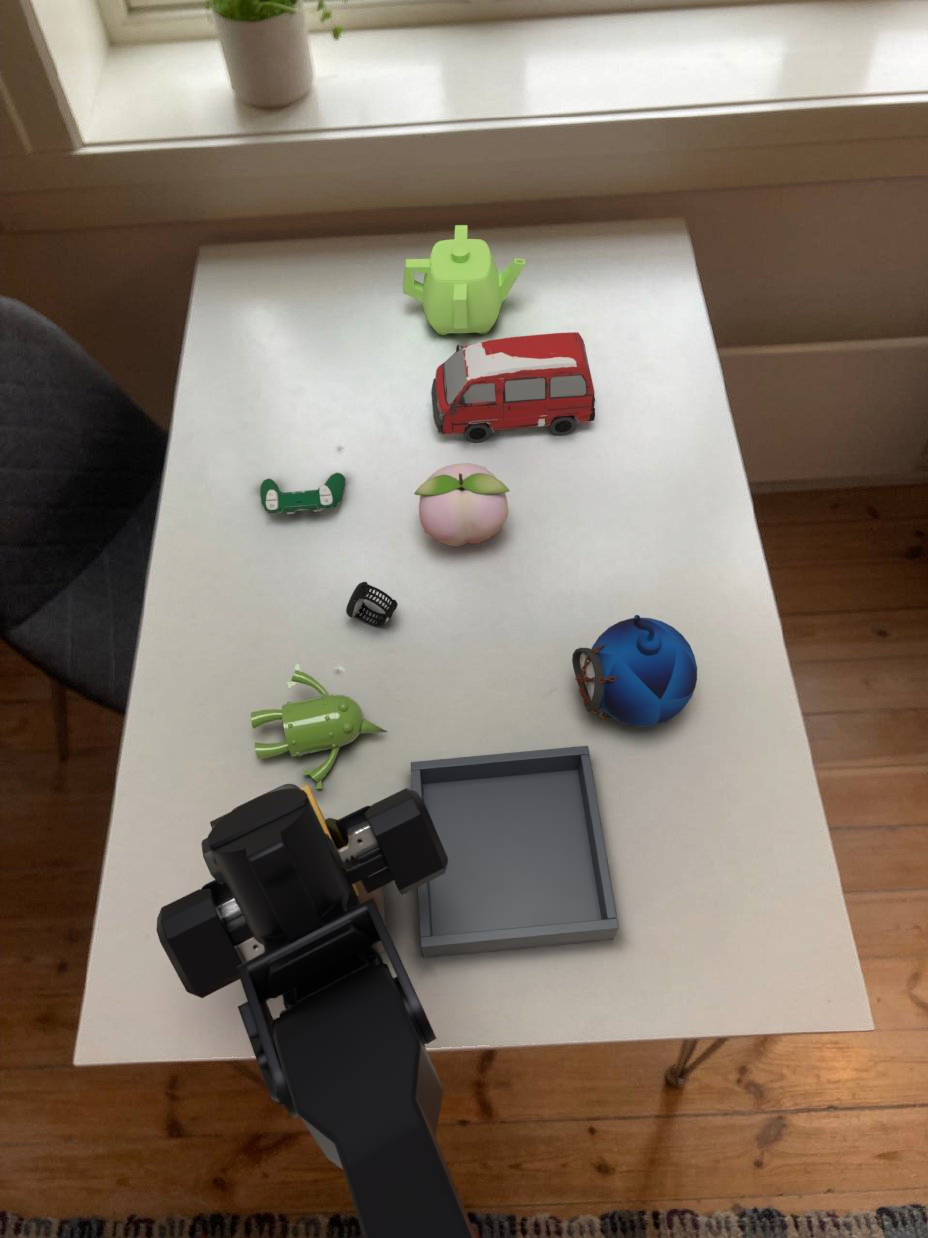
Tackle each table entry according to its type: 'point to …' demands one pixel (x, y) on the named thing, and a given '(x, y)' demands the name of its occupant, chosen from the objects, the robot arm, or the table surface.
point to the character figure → (314, 725)
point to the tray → (514, 853)
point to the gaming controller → (302, 496)
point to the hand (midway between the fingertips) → (293, 841)
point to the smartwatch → (358, 602)
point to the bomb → (637, 672)
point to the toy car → (514, 386)
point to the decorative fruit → (462, 504)
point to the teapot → (460, 284)
